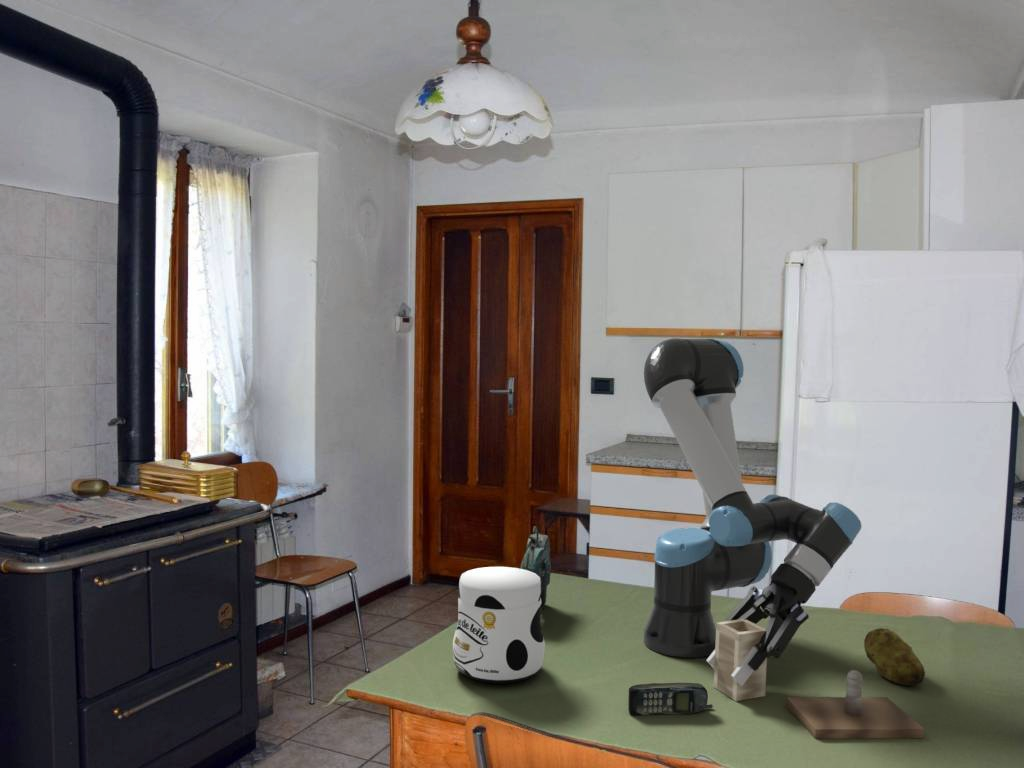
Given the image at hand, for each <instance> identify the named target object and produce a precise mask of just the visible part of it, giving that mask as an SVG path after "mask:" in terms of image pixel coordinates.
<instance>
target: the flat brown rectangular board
mask: <svg viewBox="0 0 1024 768" xmlns="http://www.w3.org/2000/svg"><path fill="white" fill-rule="evenodd" d="M845 689H846V690H845V696H822V697H821V696H815V697H814V696H804V697H803V696H801V697H799V696H788V697H786V704H785V705H786V707H787V708H788V709H789V710H790V712H791V713H792V714H793V715H794V716H795V718H797V719H798V721H799V722H800V723H801V724H802V726H804V728H805V729H806V730H807V731H808V732H809V734H811V736H812V737H813V738H814V739H819V740H821V739H824V740H825V739H924V736H925V728H924V727H922V726H921V725H920V724H919V723H918V722H917V721H915V720H914V719H913V718H912V717H911V716H910V715H908V714H907V713H906V711H904V710H903V709H901V708H900V707H899V706H898V705H897V704H895V703H894V702H893V701H892V700H891V699H890V698H889V697H888V696H862V693H863V675H862V674H861V672H860V671H858V670H857V669H852V670H850V671H848V673H847V675H846V688H845Z"/></svg>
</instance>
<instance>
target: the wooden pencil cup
mask: <svg viewBox="0 0 1024 768" xmlns="http://www.w3.org/2000/svg"><path fill="white" fill-rule="evenodd" d="M723 621H724V620H723ZM723 621H718V622H716V624H715V628H716V643H715V667H714V668H713V670H714V672H713V688H715V689H716V690H717V691H719V692H721V693H723V694H724V695H725V696H727V697H728V698H729V699H731V700H733V701H735V702H739V701H745V700H751V699H755V698H761V697H765V696H766V683H767V667H768V666H767V663H768V658H766V659H765V660H764V662H763V663H762V664H761V666H760V667H759V668H758V669H757V670H756V671H753V672H752V674H751V675H750V676H749V678H748V679H747V680H746V682H745V683H744V684H743V686H741V685H739V684H738V683H737V681H736V680H735V679H734V678H733V677H732V676H731V675H732V673H733V672H734V671H735V670H736V668H737V667H738V666H739V664H740V663H741V662H742V661H743V659H744V658H745V657H746V655H747V654H748V653H749V651H750V650H751V649H752V648H753V647H755V648H757V647H756V644H759V643H760V641H761V638H762V636H763V634H764V633H765V632H766V630H765V629H766V627H763V626H761V625H758V623H756V624H755V623H753V622H750V621H748V620H744V619H739V620H732V621H724V622H723ZM757 650H758V648H757Z"/></svg>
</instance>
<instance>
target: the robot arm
mask: <svg viewBox="0 0 1024 768" xmlns="http://www.w3.org/2000/svg"><path fill="white" fill-rule="evenodd" d="M744 371H745V370H744V362H743V359H742V356H741V354H740V353H739V351H738V350H737V348H736V347H735V346H734V345H732V344H731V343H729V342H728V341H726V340H721V339H720V340H719V339H714V338H676V337H675V338H669V339H665V340H663V341H661V342H659V343H658V344H656V345H655V346H654V347H653V348H652V349H651V351H650V352H649V353H648V354H647V357H646V360H645V362H644V368H643V381H644V386H645V390H646V392H647V394H648V395H647V396H648V397H649V399H650V401H651V403H652V405H653V406H654V407H656V409H657V408H658V409H660V410H661V412H662V413H663V416H664V418H665V419H666V422H667V423H668V426H669V427H670V429H671V431H672V433H673V435H674V438H675V440H676V441H677V443H678V446H680V449H681V451H682V453H683V455H684V457H685V459H686V461H687V463H688V465H689V466H690V469H691V470H692V472H693V474H694V477H695V478H696V480H697V482H698V484H699V487H700V489H701V490H702V496H703V502H704V511H705V519H704V520H703V522H702V523H701V525H700V528H696V527H689V528H685V527H684V528H674V529H671V530H667V531H665V532H663V533H662V534H660V535H659V537H658V538H657V541H656V542H655V543H656V545H655V552H654V556H653V557H654V583H653V591H654V592H653V606H652V608H651V611H650V613H649V616H648V618H647V619H648V620H647V622H646V625H645V628H644V630H643V643H644V644H645V646H646V647H647V648H648V649H650V650H652V651H654V652H656V653H660V654H662V655H666V656H671V657H677V658H686V659H687V658H689V659H690V658H691V659H692V658H702V657H708V658H707V659H705V660H706V662H707V663H708V664H709V665H710V666H711V667H712V668H713V669H714V667H715V643H716V624H715V622H714V617H713V614H712V611H711V609H712V592H716V591H722V590H726V589H733V588H745V587H748V586H750V585H752V586H751V587H750V588H749V591H748V592H747V594H746V596H744V598H742V600H741V601H740V602H739V603H738V604H737V606H736V607H734V609H733V610H732V611H731V612H730V614H728V615H727V617H726V618H725V619H724V620H723V621H722V622H724V621H732V620H739V619H744V620H748V621H750V622H753V623H755V624H758V623H759V622H760V621H762V620H763V619H764V620H765V619H767V618H769V619H768V622H767V624H766V626H765V630H766V632H765V633H764V634H763V636H762V638H761V641H760V643H759V644H756V647H757V648H758V650H757V648H755V647H753V648H752V649H751V650H750V651H749V653H748V654H747V655H746V657H745V658H744V659H743V661H742V662H741V663H740V664H739V666H738V667H737V668H736V670H735V671H734V672H733V673H732V675H731V676H732V677H733V678H734V679H735V680H736V681H737V683H738V684H739V685H741V686H743V684H744V683H745V682H746V680H747V679H748V678H749V676H750V675H751V674H752V672H753V671H756V670H757V669H758V668H759V667H760V666H761V664H762V663H763V662H764V660H765V659H766V658H767V659H769V658H770V657H773V658H774V659H776V660H777V659H779V658H780V657H781V656H782V654H783V653H784V651H785V649H786V648H787V646H788V645H789V643H790V642H791V640H792V639H793V637H794V636H795V634H796V633H797V631H798V630H799V628H800V626H801V625H803V623H805V622H806V621H807V620H808V619H809V617H810V616H809V614H808V613H807V612H806V611H805V609H804V608H803V607H802V606H801V605H804V604H806V603H807V602H808V601H809V600H810V598H812V596H813V594H814V593H815V592H816V587H819V586H820V585H821V583H822V582H823V581H824V580H825V578H826V577H827V575H829V573H830V572H831V570H833V568H834V566H835V565H836V563H837V562H838V560H840V559H841V558H842V556H844V553H845V552H847V550H848V549H849V548H850V546H852V545H853V542H854V541H855V539H856V537H857V536H858V534H859V533H860V531H861V530H862V521H861V520H860V518H859V517H858V515H857V514H856V513H855V512H854V511H853V510H851V509H850V508H849V507H847V506H845V505H844V504H842V503H839V502H829V503H827V504H826V506H824V507H823V508H822V510H820V509H818V508H817V509H816V508H813V507H810V506H808V505H805V504H803V503H801V502H798V501H795V500H794V499H792V498H789V497H787V496H784V495H783V496H782V495H778V494H768V495H766V496H765V497H764V498H762V499H761V500H760V501H759V502H756V503H753V500H752V499H751V497H750V495H749V494H748V493H749V492H748V491H747V490H746V488H745V486H744V484H743V479H742V473H741V466H740V459H739V453H738V446H737V445H738V444H737V441H736V440H737V439H736V433H735V432H736V431H735V426H734V420H733V414H732V406H731V405H732V402H734V399H735V398H736V397H737V391H736V389H737V388H738V387H739V386H740V384H741V383H742V379H741V378H744V377H743V376H744V373H745V372H744ZM782 540H786V541H787V540H788V541H790V542H793V543H795V545H794V546H793V547H792V548H791V550H790V551H789V552H788V553H787V555H786V556H785V557H784V559H783V563H780V564H779V566H777V568H776V569H775V570H774V572H773V573H772V574H771V576H770V584H768V585H767V586H766V587H764V588H763V589H760V588H759V589H758V588H757V586H755V584H758V583H759V582H760V581H762V580H763V579H764V578H765V577H766V575H767V574H768V572H769V571H770V569H771V566H772V565H771V564H772V560H773V555H772V554H773V553H772V547H771V543H770V542H775V541H782ZM753 584H754V585H753Z"/></svg>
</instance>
